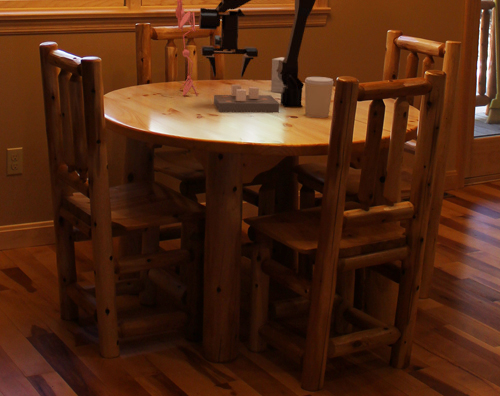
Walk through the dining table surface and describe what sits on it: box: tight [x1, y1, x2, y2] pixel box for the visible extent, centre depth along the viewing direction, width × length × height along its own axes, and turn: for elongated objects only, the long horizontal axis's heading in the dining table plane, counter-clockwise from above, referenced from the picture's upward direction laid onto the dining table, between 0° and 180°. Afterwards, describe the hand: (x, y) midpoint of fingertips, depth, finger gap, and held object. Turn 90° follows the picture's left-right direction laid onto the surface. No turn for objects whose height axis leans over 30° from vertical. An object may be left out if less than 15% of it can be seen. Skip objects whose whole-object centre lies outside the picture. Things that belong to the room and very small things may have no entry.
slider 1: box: [230, 84, 242, 96], centre depth 242 cm, size 3×2×4 cm
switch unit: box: [213, 94, 280, 113], centre depth 240 cm, size 20×15×3 cm
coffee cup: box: [304, 76, 335, 119], centre depth 231 cm, size 9×9×12 cm
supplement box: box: [270, 56, 285, 94], centre depth 272 cm, size 7×7×13 cm
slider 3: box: [248, 86, 260, 99], centre depth 239 cm, size 3×2×4 cm
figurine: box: [161, 0, 199, 98], centre depth 256 cm, size 15×26×35 cm, turn 8°
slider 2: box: [236, 88, 247, 101], centre depth 234 cm, size 3×2×4 cm
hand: (228, 76), depth 240 cm, fingers open, 9 cm apart
